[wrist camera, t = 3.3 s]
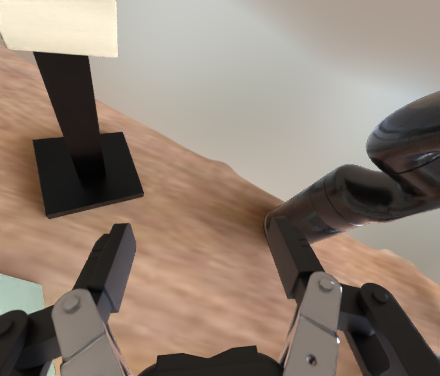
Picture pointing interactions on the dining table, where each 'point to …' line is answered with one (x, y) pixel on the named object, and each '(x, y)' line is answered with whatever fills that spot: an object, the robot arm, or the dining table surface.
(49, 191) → the stand
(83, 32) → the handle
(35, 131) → the dining table surface
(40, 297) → the rest block
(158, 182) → the dining table surface
